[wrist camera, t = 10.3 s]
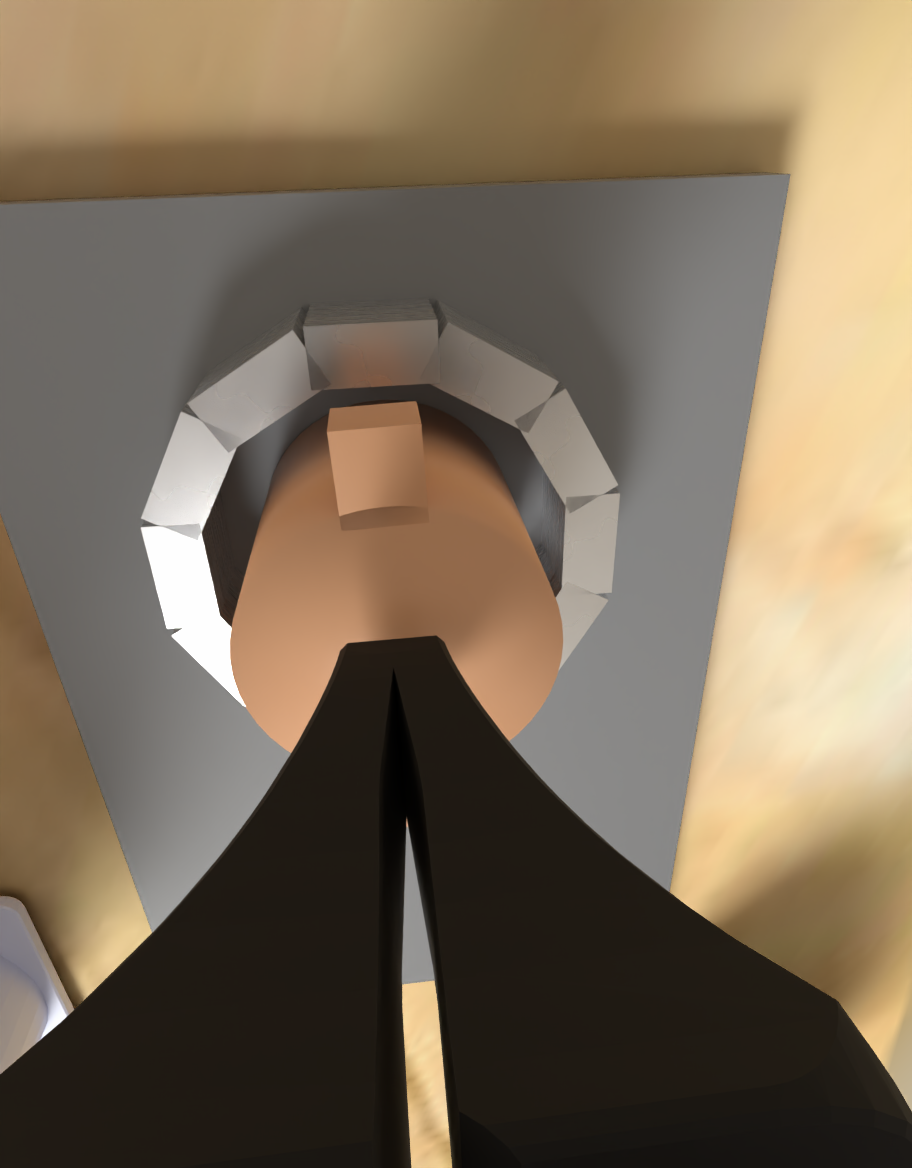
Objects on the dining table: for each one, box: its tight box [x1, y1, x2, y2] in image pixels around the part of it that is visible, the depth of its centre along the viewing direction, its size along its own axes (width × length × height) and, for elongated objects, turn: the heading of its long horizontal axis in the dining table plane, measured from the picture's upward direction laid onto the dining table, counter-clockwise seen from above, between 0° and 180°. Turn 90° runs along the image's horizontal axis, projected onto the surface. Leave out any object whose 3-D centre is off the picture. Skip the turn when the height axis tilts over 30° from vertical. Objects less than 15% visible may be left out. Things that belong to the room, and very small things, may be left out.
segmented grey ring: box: [141, 298, 620, 706], centre depth 15 cm, size 8×8×2 cm
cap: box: [230, 400, 563, 827], centre depth 14 cm, size 5×7×5 cm
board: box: [0, 173, 790, 984], centre depth 19 cm, size 15×22×1 cm
